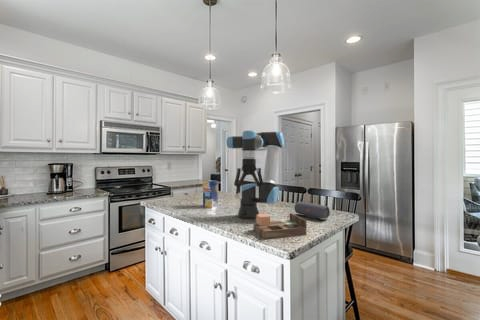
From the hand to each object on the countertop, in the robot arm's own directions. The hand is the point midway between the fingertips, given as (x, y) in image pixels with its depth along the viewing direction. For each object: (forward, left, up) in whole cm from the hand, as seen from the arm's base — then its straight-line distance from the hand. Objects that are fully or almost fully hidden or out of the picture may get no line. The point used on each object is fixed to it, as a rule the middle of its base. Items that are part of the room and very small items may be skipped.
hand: (248, 198), depth 133 cm
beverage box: (-73, -8, -20) cm, 76 cm away
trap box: (+4, +17, -20) cm, 26 cm away
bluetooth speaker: (-18, +54, -20) cm, 60 cm away
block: (0, +9, -16) cm, 18 cm away
